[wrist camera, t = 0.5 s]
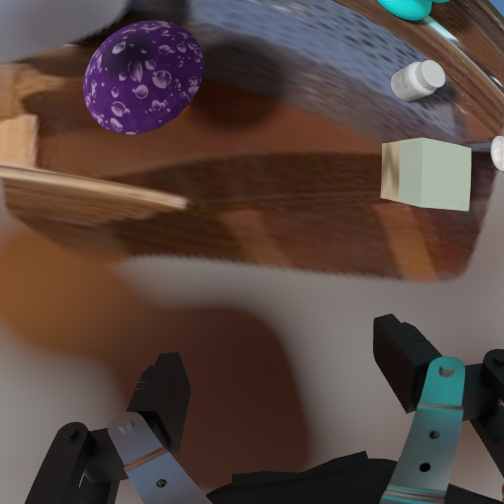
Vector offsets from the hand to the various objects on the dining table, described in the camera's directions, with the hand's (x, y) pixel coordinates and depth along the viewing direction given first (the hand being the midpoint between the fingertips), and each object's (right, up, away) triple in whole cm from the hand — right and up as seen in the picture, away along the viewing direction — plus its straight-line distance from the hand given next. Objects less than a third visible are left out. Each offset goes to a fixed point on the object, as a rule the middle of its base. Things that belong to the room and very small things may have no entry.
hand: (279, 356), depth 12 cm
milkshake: (+30, +18, +24) cm, 42 cm away
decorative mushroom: (-12, +23, +21) cm, 34 cm away
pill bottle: (+19, +26, +21) cm, 39 cm away
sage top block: (+19, +13, +20) cm, 30 cm away
